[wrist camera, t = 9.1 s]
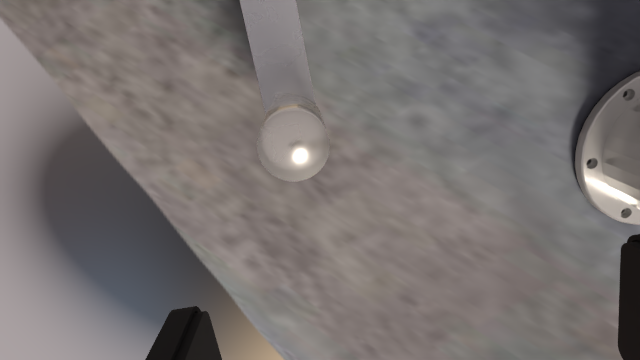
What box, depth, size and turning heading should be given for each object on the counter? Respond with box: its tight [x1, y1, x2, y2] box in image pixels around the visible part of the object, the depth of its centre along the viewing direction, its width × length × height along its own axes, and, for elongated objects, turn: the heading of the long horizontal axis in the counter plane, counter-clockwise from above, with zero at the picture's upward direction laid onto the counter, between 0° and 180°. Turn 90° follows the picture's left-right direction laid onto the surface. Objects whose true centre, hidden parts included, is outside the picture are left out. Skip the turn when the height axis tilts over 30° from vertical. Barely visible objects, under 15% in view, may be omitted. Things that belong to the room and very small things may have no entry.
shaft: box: [240, 0, 330, 181], centre depth 23 cm, size 3×17×9 cm, turn 11°
